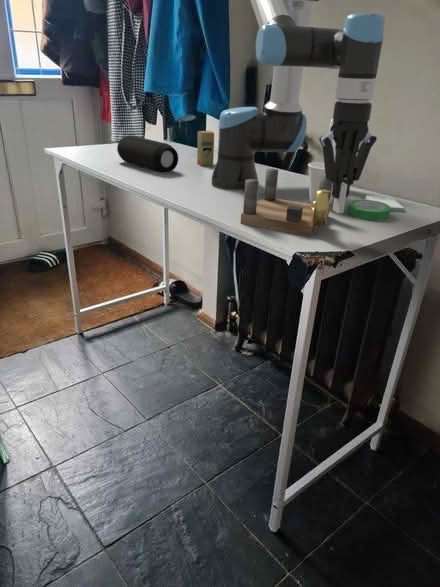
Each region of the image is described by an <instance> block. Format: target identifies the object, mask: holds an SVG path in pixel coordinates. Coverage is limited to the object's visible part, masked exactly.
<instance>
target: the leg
mask: <svg viewBox="0 0 440 587" xmlns="http://www.w3.org/2000/svg"><path fill="white" fill-rule="evenodd" d="M330 196H331V191H329V190H324V189H319V190H317V193H316V200H315V201H313V204H312V210H311V219H312V224H314V225H317V226H320V227H323V226H324V227H325V226H327V220H328V219H327V214H328V208H329V207H330V205H329V202H330Z"/></svg>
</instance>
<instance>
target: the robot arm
mask: <svg viewBox="0 0 440 587" xmlns="http://www.w3.org/2000/svg"><path fill="white" fill-rule="evenodd" d="M319 2H320V0H250V4H251V7H252V9H253V12H254V15H255V18H256V22H257V23H258V27H259V29H258V31H257V33H256V34H257V35H256V39H255V57H256V60H257V61H258V63H259V64H261V65H267V66H268V65H269V66H272V67H273V74H272V83H271V89H270V91H271V92H270V99H269V101H267V103H265V104H264V106H263V107H264V108H263V109H264V111H262V112H261V111H259V108H258V107H256V106H240V107H232V108H228V109H225V110H222V112H220V115H219V121H218V140H217V141H218V143H217V144H218V145H217V147H218V148H217V161H216V163H215V166H214V169H213V171H212V174H211V183H210V184H211V185H212V186H214V187H216V188H219V189H223V190H228V191H229V190H230V191H245V180H247V179H254V180H258V181H259V176H258V173H257V169H256V164H255V153H256V152H257V153H261V152H263V153H282V154H284V153H292V152H293V153H294V152H296V151H297V150H298V149H299V148H300V147H301V146H302V144H303V143H304V140H305V137H306V134H307V126H308V125H307V123H308V121H307V117H306V114H304V113H303V107H302V106H301V104H300V102H299V100H300V94H301V87H302V81H303V73H304V68H305V67H306V68H318V69H319V68H324V69H331V70H332V69H334V70H338V76H337V85H336V90H335V91H336V93H335V98H336V100H337V101H336V102H335V103H334V108H333V115H332V119H333V125H332V127H331V129H330V132H329V131H328V133H327V134H326V135H320V137H319V139H318V140H319V142H320V145H321V147H322V151H323V152H322V153H323V162H324V165H325V175H326V179H327V180H329V181H332V182H333V189H332V197H333V204H332V211H334V212H335V213H337V214H343V213H344V212H345V204H346V198H349V195H350V190H351V186H352V185H353V184H354V183H355V181H359V180H360V178H361V176H362V173H363V170H364V167H365V165H366V162H367V159H368V158H369V157H368V156H369V154H370V152H371V150H372V147H373V146H374V144H375V143H376V142H377V140H378V138H377V136H375V135H372V133H370V132H369V124H368V123H369V121H370V118H371V112H372V108H373V107H372V106H373V105H372V103H371V102H370V101H372V100H373V98H374V93H375V88H376V80H377V74H378V68H379V64H380V63H379V62H380V59H381V58H380V57H381V51H382V46H383V41H384V37H385V35H384V30H385V23H386V22H385V21H386V20H385V17H384V16H383V14H381V13H374V12H373V13H369V12H368V13H365V12H364V13H363V12H362V13H361V12H359V13H351V14H348V16H346V18H345V21H344V26H343V28H331V27H329V28H328V27H317V26H316V27H314V26H311V25H310V24H311V18H312V12H313V9H314V8H315V7H316V6H317V5H318V4H319ZM333 139H334V141H335V143H336V146H335V150H336V156H335V162H334V151H333V145H332V144H333Z"/></svg>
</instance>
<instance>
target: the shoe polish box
mask: <svg viewBox="0 0 440 587" xmlns="http://www.w3.org/2000/svg"><path fill="white" fill-rule="evenodd" d="M214 149H215V132H213V131H211V130H197V151H196V152H197V156H196V157H197V159H196V160H197V161H196V162H197V165H198V166H200V167H214V153H215V152H214V151H215V150H214Z"/></svg>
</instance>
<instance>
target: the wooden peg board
mask: <svg viewBox="0 0 440 587" xmlns="http://www.w3.org/2000/svg"><path fill="white" fill-rule="evenodd" d="M278 176H279V169H277V168H266V171H265V179H264V180H265V182H264V191H263V192H264V193H263V194H264V195H263V198H262V199H260V201H258V193H259V183H260V182H259V179H258V180H254V179H247V180H245V190H244V194H243V195H244V196H243V206H242V209H243V210H242V211H243V212H241V214H240V224H243V225H247V226H248V225H249V226H254V227H260V228H264V229H268V230H269V229H270V230H274V231H280V232H284V233H285V232H286V233H291V234H296V235H301V236H306V237H312V236H313V235H314V233H315V232H317V230H318V229H319V228H320V227H321V226H317V225H314V224H312V219H311V210H312V204H311V203H305V202H299V201H293V200H286V199H280V198H277V197H276V196H277V186H278ZM332 184H333V182H332V181H329V180H327V179H326V176H321V179H320V185H319V189H324V190H329V191H331V190H332ZM330 197H331V196H330ZM329 203H330V202H329ZM330 209H331V208H330V206H329V208H328V214H327V218H329V215H330Z"/></svg>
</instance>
